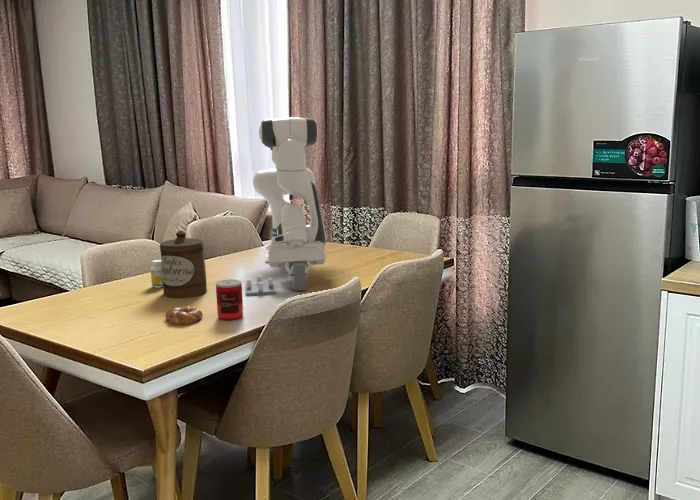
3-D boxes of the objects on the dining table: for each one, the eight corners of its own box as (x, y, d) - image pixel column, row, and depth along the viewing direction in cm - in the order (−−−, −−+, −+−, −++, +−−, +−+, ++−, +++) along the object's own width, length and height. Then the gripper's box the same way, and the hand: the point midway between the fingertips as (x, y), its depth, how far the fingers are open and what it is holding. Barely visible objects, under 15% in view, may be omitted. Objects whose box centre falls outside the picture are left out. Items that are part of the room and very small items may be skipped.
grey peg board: (245, 286, 245) (244, 276, 244) (273, 285, 247) (272, 274, 246) (246, 295, 233) (245, 284, 232) (275, 294, 234) (275, 282, 233)
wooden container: (154, 296, 235) (149, 233, 230) (179, 286, 248) (175, 226, 244) (191, 299, 230) (187, 235, 225) (215, 289, 243) (211, 228, 239)
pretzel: (204, 324, 202) (203, 312, 201) (166, 328, 199) (165, 315, 198) (201, 313, 213) (200, 302, 213) (165, 317, 210) (164, 305, 210)
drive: (292, 285, 243) (291, 261, 241) (303, 285, 243) (303, 260, 241) (294, 290, 236) (293, 265, 234) (305, 290, 236) (305, 264, 235)
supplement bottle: (165, 288, 246) (163, 262, 244) (150, 288, 246) (148, 262, 244) (168, 284, 251) (166, 259, 249) (154, 285, 251) (152, 259, 249)
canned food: (233, 312, 213) (231, 278, 211) (248, 317, 207) (246, 282, 205) (212, 317, 208) (210, 282, 206) (227, 322, 202) (225, 286, 200)
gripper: (323, 245, 250) (327, 277, 242) (267, 248, 246) (269, 281, 239) (324, 235, 244) (328, 268, 237) (267, 238, 241) (269, 271, 234)
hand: (298, 274), depth 238 cm, fingers closed on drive, 4 cm apart
